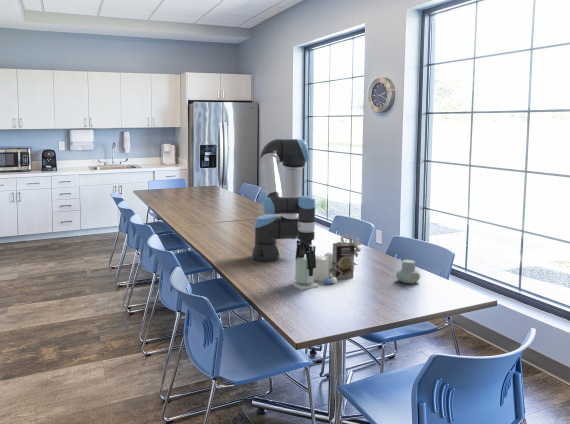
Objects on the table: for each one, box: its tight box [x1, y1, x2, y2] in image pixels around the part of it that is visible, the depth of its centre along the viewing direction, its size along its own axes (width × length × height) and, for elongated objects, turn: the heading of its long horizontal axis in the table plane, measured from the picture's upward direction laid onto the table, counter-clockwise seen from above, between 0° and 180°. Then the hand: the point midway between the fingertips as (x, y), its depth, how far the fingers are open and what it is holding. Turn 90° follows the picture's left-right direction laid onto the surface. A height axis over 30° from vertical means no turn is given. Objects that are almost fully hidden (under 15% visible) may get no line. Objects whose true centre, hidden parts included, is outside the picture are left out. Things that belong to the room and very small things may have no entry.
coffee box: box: [331, 242, 356, 280], centre depth 250 cm, size 9×6×16 cm
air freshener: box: [395, 259, 421, 285], centre depth 243 cm, size 11×8×10 cm
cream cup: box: [314, 255, 331, 282], centre depth 247 cm, size 8×8×10 cm
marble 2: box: [330, 276, 338, 285], centre depth 240 cm, size 3×3×3 cm
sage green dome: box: [294, 256, 316, 283], centre depth 236 cm, size 8×8×10 cm
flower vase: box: [323, 232, 363, 271], centre depth 267 cm, size 13×18×25 cm
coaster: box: [291, 280, 319, 291], centre depth 237 cm, size 9×9×1 cm
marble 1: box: [323, 278, 332, 285], centre depth 239 cm, size 3×3×3 cm
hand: (305, 279), depth 236 cm, fingers closed on sage green dome, 8 cm apart
